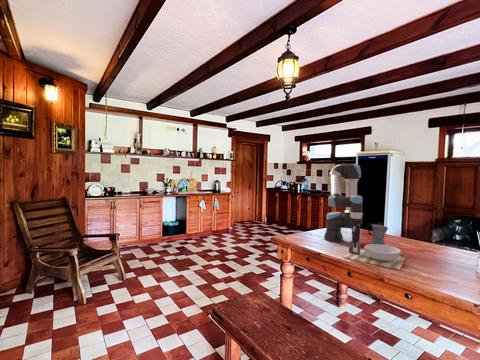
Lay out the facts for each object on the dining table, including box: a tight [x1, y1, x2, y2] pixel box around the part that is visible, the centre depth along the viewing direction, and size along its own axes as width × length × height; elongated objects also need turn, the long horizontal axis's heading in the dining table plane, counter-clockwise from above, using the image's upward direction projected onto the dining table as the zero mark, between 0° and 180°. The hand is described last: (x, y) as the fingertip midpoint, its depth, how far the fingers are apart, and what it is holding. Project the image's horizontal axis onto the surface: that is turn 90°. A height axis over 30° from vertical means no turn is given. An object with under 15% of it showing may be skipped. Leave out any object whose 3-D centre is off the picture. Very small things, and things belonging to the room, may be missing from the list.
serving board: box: [343, 240, 406, 271], centre depth 168 cm, size 32×25×9 cm
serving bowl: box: [363, 243, 402, 261], centre depth 166 cm, size 21×21×7 cm
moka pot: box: [367, 222, 389, 245], centre depth 190 cm, size 10×15×20 cm, turn 39°
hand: (355, 251), depth 176 cm, fingers closed on serving board, 2 cm apart
